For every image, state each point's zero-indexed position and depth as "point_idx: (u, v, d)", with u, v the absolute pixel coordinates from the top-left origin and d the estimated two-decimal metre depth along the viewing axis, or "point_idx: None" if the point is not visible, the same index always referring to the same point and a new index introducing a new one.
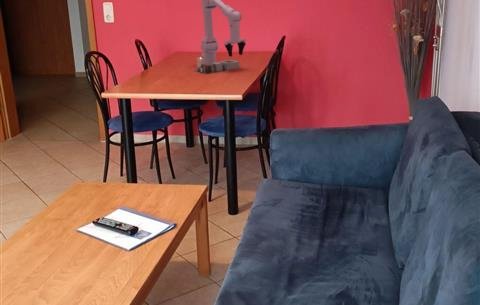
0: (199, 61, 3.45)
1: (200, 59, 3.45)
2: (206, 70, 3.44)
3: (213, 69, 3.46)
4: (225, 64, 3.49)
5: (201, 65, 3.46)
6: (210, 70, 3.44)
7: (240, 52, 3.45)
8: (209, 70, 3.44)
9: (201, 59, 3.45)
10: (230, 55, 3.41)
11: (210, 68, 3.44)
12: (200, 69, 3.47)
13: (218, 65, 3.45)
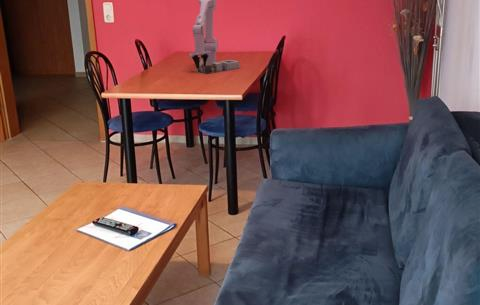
0: (199, 61, 3.45)
1: (200, 59, 3.45)
2: (206, 70, 3.44)
3: (213, 69, 3.46)
4: (225, 64, 3.49)
5: (201, 65, 3.46)
6: (210, 70, 3.44)
7: None
8: (209, 70, 3.44)
9: (201, 59, 3.45)
10: (197, 66, 3.46)
11: (210, 68, 3.44)
12: (200, 69, 3.47)
13: (218, 65, 3.45)
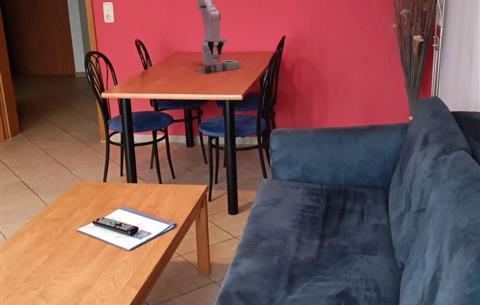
0: None
1: (213, 47, 3.46)
2: (206, 70, 3.44)
3: (213, 69, 3.46)
4: (225, 64, 3.49)
5: (214, 53, 3.47)
6: (210, 70, 3.44)
7: None
8: (209, 70, 3.44)
9: (214, 47, 3.46)
10: None
11: (210, 68, 3.44)
12: (213, 57, 3.48)
13: (218, 65, 3.45)
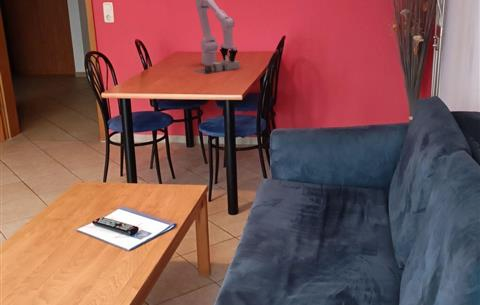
0: None
1: (225, 56, 3.52)
2: (206, 70, 3.44)
3: (213, 69, 3.46)
4: (225, 64, 3.49)
5: None
6: (210, 70, 3.44)
7: None
8: (209, 70, 3.44)
9: (225, 56, 3.51)
10: None
11: (210, 68, 3.44)
12: None
13: (218, 65, 3.45)
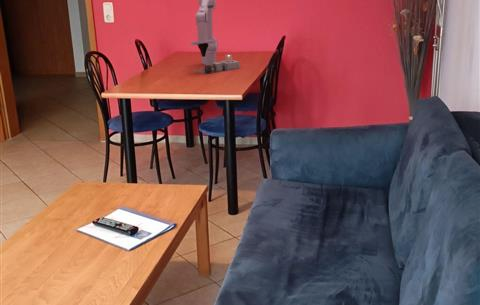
0: None
1: (225, 56, 3.52)
2: (206, 70, 3.44)
3: (213, 69, 3.46)
4: (225, 64, 3.49)
5: None
6: (210, 70, 3.44)
7: None
8: (209, 70, 3.44)
9: (225, 56, 3.51)
10: (202, 55, 3.39)
11: (210, 68, 3.44)
12: None
13: (218, 65, 3.45)
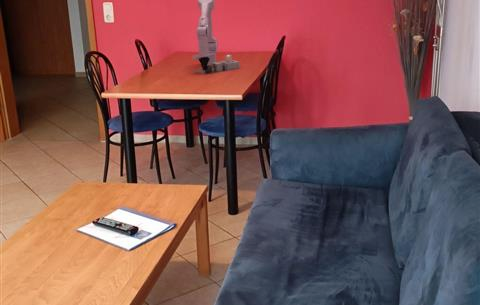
0: (225, 58, 3.52)
1: (225, 56, 3.51)
2: (207, 70, 3.44)
3: (213, 69, 3.46)
4: (225, 64, 3.49)
5: None
6: (210, 70, 3.44)
7: None
8: (209, 70, 3.44)
9: (225, 57, 3.51)
10: (204, 69, 3.42)
11: (210, 68, 3.44)
12: None
13: (218, 65, 3.45)
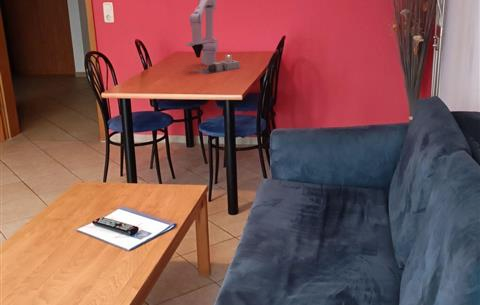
0: (225, 58, 3.52)
1: (225, 56, 3.52)
2: (210, 69, 3.45)
3: None
4: (225, 64, 3.49)
5: None
6: (214, 69, 3.46)
7: None
8: (213, 69, 3.45)
9: (225, 56, 3.51)
10: (197, 56, 3.42)
11: (214, 67, 3.46)
12: None
13: (218, 65, 3.45)
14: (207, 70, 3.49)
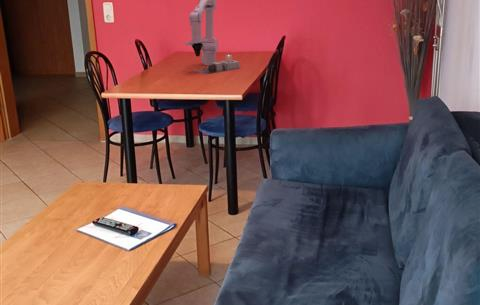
0: None
1: None
2: (210, 69, 3.45)
3: None
4: (225, 64, 3.49)
5: None
6: (214, 69, 3.46)
7: None
8: (213, 69, 3.45)
9: (226, 57, 3.50)
10: (197, 55, 3.42)
11: (214, 67, 3.46)
12: None
13: (218, 65, 3.45)
14: (207, 70, 3.49)
